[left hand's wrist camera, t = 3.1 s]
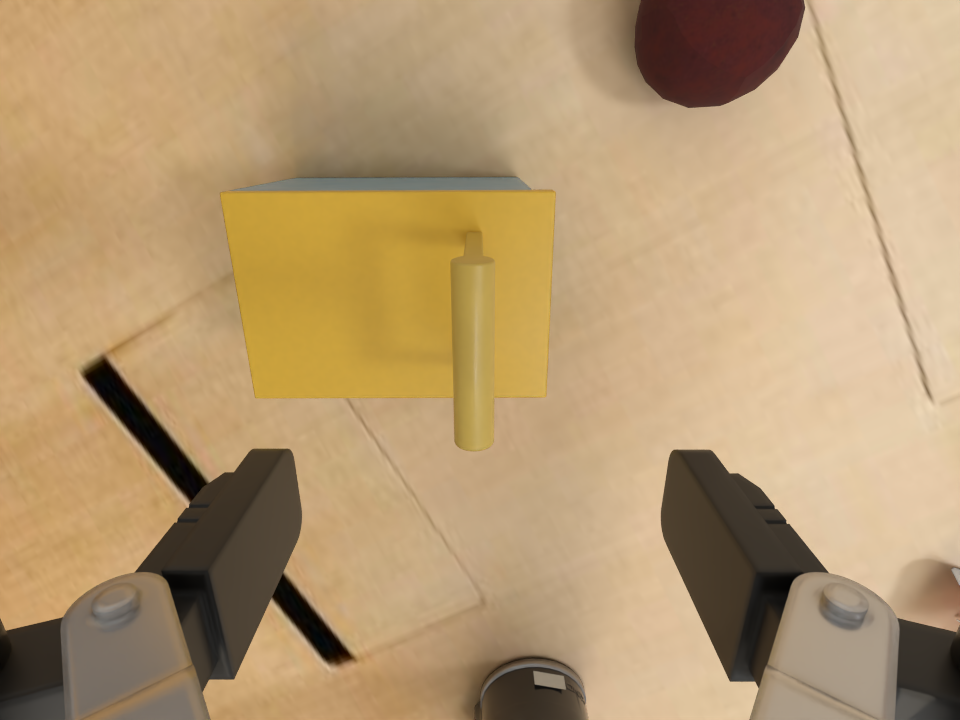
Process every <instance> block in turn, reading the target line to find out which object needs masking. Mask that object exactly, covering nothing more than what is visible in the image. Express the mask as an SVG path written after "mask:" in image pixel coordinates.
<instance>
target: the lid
mask: <svg viewBox="0 0 960 720" xmlns="http://www.w3.org/2000/svg"><path fill="white" fill-rule="evenodd" d="M220 197H221V203H222V209H223V215H224V221H225V226H226V232H227V238H228V244H229V249H230V255H231V261H232V267H233V273H234V278H235V284H236V290H237V296H238V301H239V307H240V313H241V319H242V324H243V330H244V336H245V342H246V348H247V353H248V359H249V365H250V371H251V376H252V382H253V388H254V394H255V398H454V440H455V444H456V445H457V446H458V447H459V448H461V449H463V450H466V451H481V450H485V449H487V448H489V447H490V446H491V445H492V444H493V442H494V398H507V397H546V392H547V370H548V349H549V327H550V306H551V284H552V263H553V241H554V219H555V198H556V193H555V191H553V190H325V191H225V192H221V193H220Z"/></svg>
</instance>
